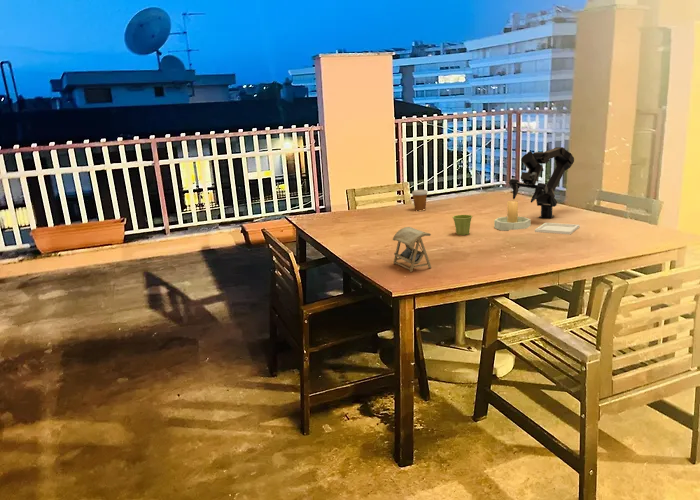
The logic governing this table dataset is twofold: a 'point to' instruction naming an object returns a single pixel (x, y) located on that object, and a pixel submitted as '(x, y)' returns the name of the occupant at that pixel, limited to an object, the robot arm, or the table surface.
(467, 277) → the table surface
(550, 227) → the parts tray
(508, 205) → the orange tapered cylinder
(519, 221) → the sage bowl
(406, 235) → the swing bench
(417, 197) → the disposable coffee cup
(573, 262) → the table surface
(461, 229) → the plant pot
